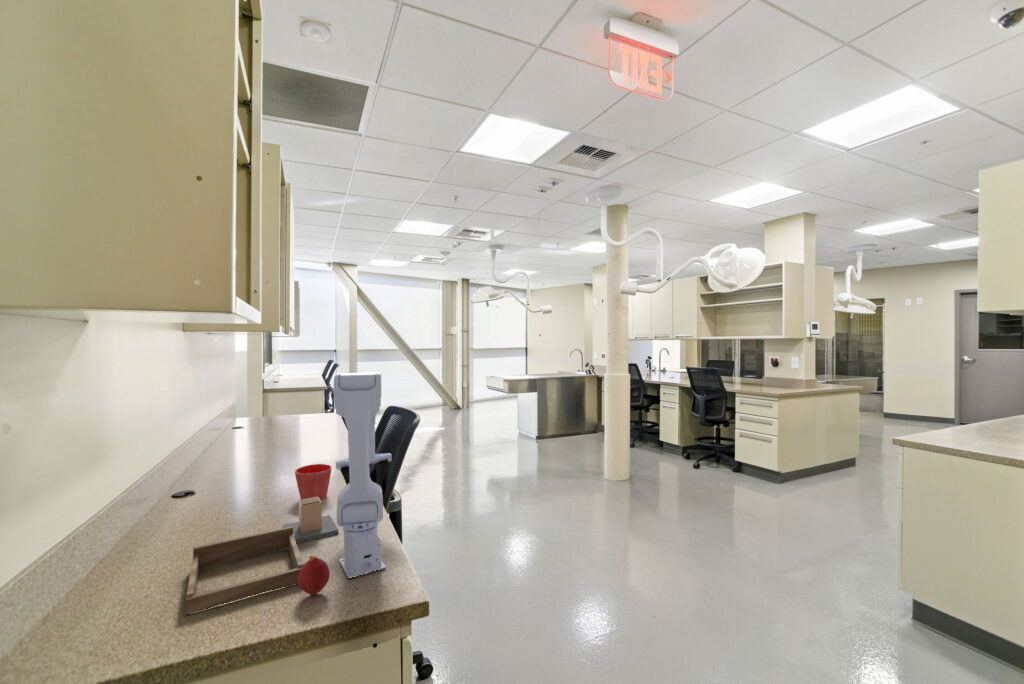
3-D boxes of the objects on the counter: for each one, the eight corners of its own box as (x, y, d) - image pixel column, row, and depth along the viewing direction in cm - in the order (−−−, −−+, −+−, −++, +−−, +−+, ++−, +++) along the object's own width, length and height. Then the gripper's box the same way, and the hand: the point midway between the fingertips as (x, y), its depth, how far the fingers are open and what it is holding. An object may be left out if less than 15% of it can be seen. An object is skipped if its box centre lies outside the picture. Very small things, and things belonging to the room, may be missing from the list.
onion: (321, 583, 92) (320, 545, 92) (335, 593, 88) (334, 553, 88) (292, 596, 87) (292, 556, 87) (306, 606, 84) (306, 565, 84)
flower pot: (323, 503, 137) (322, 473, 137) (288, 504, 138) (288, 473, 138) (337, 492, 148) (336, 463, 148) (305, 492, 148) (305, 463, 148)
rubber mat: (338, 533, 116) (338, 529, 116) (287, 545, 109) (287, 541, 109) (329, 518, 126) (329, 515, 126) (282, 528, 119) (282, 525, 119)
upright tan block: (321, 528, 117) (321, 501, 117) (301, 533, 114) (300, 505, 114) (318, 522, 121) (318, 495, 121) (298, 526, 118) (298, 499, 118)
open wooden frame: (304, 582, 92) (304, 558, 92) (186, 615, 81) (186, 589, 81) (292, 546, 109) (292, 526, 109) (193, 569, 98) (193, 547, 98)
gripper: (386, 435, 127) (386, 482, 127) (333, 442, 119) (333, 492, 119) (393, 440, 121) (394, 488, 121) (338, 447, 113) (339, 499, 113)
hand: (364, 491), depth 120 cm, fingers open, 7 cm apart
